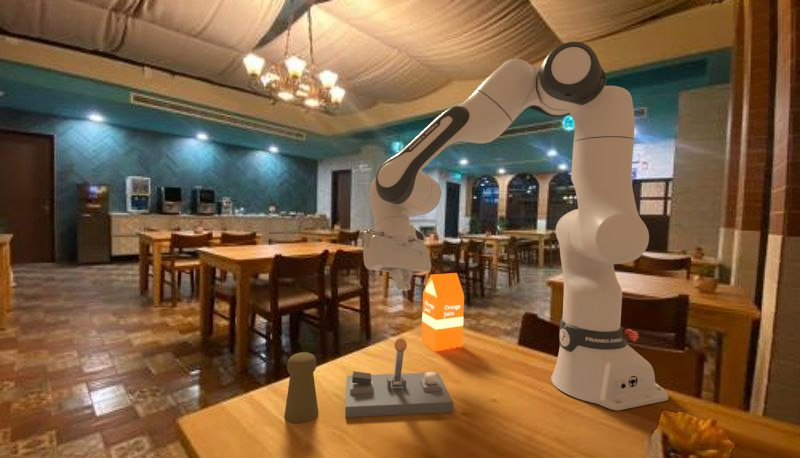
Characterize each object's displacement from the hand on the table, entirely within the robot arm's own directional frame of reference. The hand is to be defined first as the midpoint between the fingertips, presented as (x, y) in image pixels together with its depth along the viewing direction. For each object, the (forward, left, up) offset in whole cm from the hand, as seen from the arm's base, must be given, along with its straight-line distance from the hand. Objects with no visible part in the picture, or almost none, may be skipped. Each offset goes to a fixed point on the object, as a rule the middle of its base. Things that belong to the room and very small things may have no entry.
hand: (404, 289), depth 84 cm
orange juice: (-13, -15, -19) cm, 28 cm away
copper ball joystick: (+3, +12, -16) cm, 20 cm away
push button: (-4, +12, -16) cm, 21 cm away
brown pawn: (+21, +16, -19) cm, 33 cm away
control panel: (+3, +12, -19) cm, 23 cm away
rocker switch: (+10, +12, -15) cm, 21 cm away
